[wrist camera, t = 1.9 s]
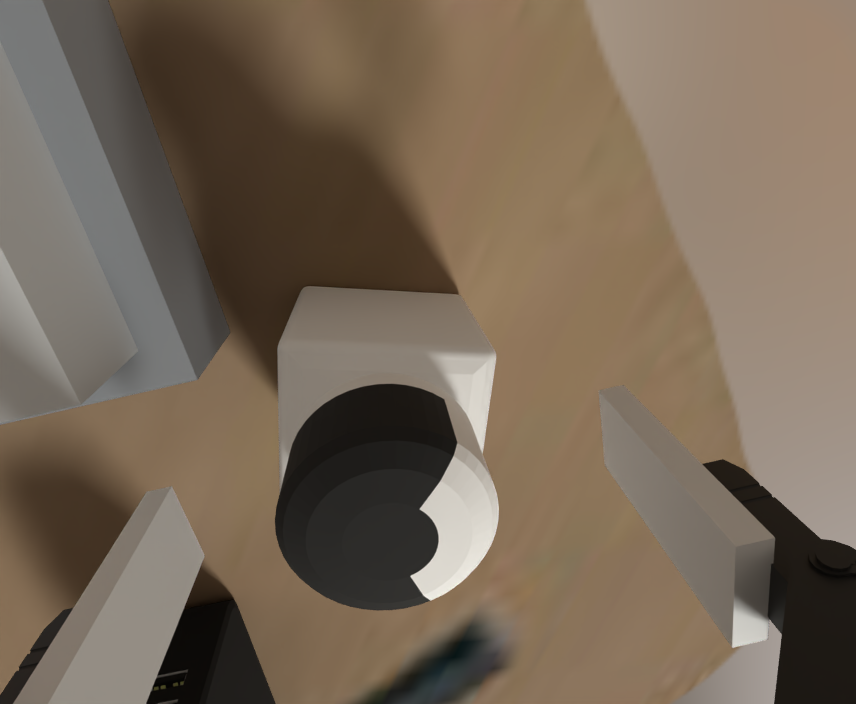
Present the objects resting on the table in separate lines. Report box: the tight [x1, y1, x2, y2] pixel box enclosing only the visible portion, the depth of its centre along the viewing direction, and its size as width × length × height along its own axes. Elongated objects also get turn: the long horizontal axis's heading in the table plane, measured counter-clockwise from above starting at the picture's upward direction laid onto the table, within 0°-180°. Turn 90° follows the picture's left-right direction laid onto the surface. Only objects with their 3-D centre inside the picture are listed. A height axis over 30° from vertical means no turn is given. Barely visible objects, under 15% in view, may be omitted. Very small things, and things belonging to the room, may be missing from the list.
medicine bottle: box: [275, 286, 499, 610], centre depth 19 cm, size 7×7×12 cm
